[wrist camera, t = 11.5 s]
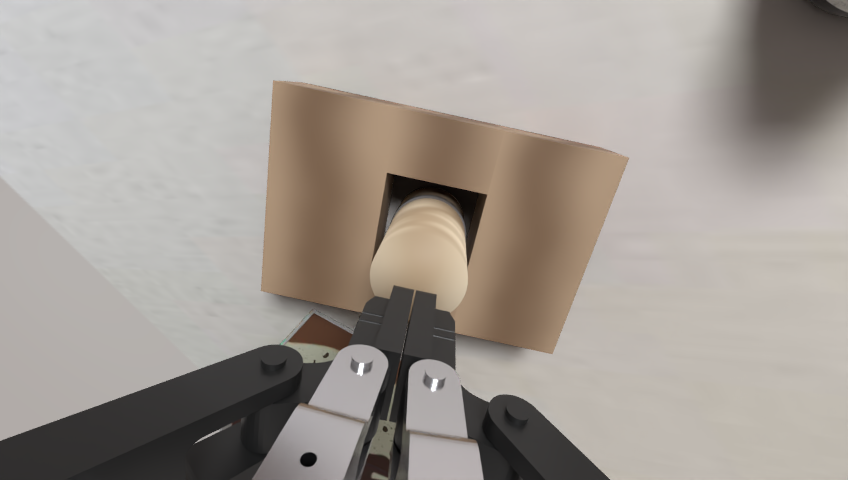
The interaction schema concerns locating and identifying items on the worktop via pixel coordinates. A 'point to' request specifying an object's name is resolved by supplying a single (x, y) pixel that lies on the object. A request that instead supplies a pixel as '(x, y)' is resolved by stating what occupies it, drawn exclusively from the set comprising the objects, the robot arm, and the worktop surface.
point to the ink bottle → (833, 6)
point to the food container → (321, 344)
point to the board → (443, 164)
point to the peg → (424, 249)
